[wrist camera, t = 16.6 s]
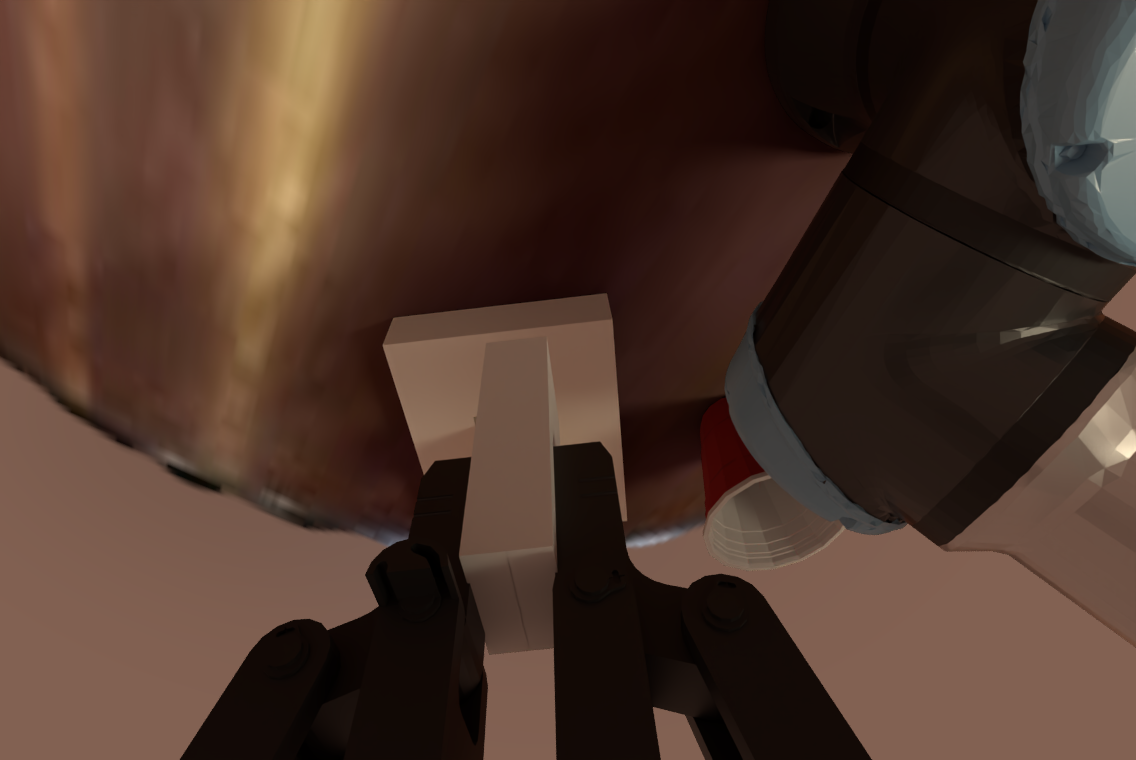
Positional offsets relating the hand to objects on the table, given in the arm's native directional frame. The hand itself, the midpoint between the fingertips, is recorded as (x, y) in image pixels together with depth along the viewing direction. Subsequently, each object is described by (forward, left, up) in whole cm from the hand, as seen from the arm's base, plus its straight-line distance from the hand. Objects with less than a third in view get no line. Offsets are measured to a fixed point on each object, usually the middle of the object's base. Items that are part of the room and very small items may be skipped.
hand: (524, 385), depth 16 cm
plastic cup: (-14, +26, -29) cm, 41 cm away
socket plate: (+4, +22, -28) cm, 36 cm away
